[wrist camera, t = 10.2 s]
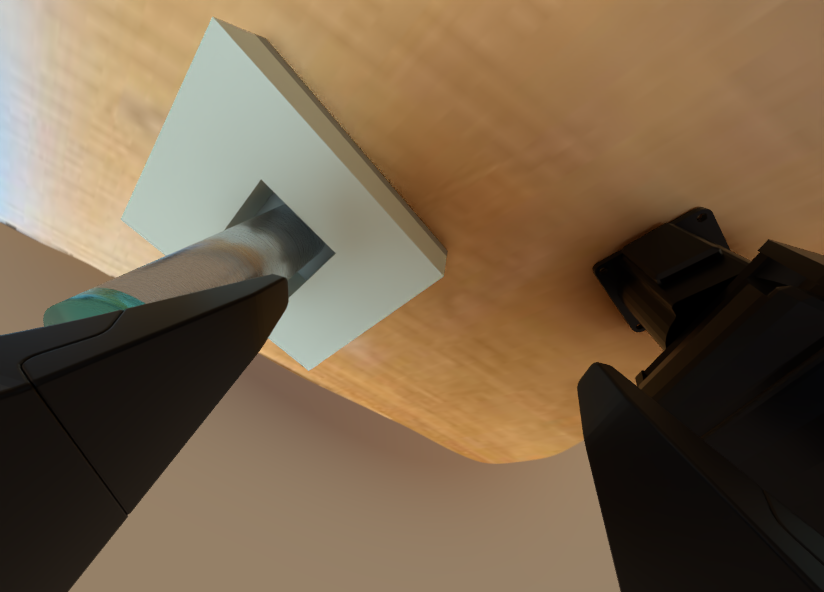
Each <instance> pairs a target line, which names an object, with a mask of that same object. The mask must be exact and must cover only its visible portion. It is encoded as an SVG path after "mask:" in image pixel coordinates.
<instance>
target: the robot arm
mask: <svg viewBox="0 0 824 592" xmlns="http://www.w3.org/2000/svg"><path fill="white" fill-rule="evenodd" d="M702 213H703V215H702V217H701V218H700V219H698V220H697V219H696V218H697V217H698V216H699V215H700V214H702ZM758 251H759V252H760V253H759V254H758V255H757V256H756V257H755V258H754V259H753V260H752V261H750V260H748V259H746V258H744V257H742V256H740V255H738V254H736V253H734V252H732V251H731V250H730V248H729V246H728V244H727V242H726V240H725V238H724V236H723V234H722V231H721V229H720V227H719V225H718V223H717V221H716V219H715V217H714V215H713V212H712V211H711V210H709V209H706V208H703V207H699V208H696V209H693V210H692V211H690V212H688V213H686V214H684V215H683V216H681V217H679V218H677V219H676V220H674V221H672V222H670V223H666V224H664V225H662V226H660V227H658V228H657V229H655V230H653V231H651V232H649V233H648V234H646V235H644V236H642V237H641V238H639V239H637V240H635V241H633V242H632V243H630V244H628V245H626V246H625V247H624V248H623V249H622V250H620V251H618V252H616V253H615V254H613V255H611V256H609V257H607V258H606V259H604V260H602V261H600V262H599V263H597V264H596V265H595V266H594V267H593V273H594V274H595V276H596V277H597V279H598V280H599V282H600V283H601V284H602V286H603V287H604V289H605V290H606V292H607V293H608V295H609V296H610V298H611V299H612V301H613V302H614V304H615V305H616V307H617V308H618V310H619V311H620V313H621V314H622V315H623V317H624V318H625V320H626V321H627V323H628V324H629V326H630V327H631V328H632V330H633V331H635V332H642V331H645V330H647V332H648V333H649V334H650V335H651V336H652V337H653V339H654V340H655V341H656V342H657V343H658V344H659V345H660V347H661V348H662V349H663V350H664V352H663V353H662V354H661V355H660V356H659V357H658V358H657V359H656V360H655V361H654V362H653V363H652V364H651V365H650V366H649V367H648V368H647V369H646V370H645V371H643V370H642V371H641V372H640V373H639V374H638V375H637V376H636V383H637V386H636V385H635V384H633V383H632V382H631V381H630V380H628V379H627V378H626V377H625V376H623V375H622V374H621V373H620V372H618V371H617V370H616V369H615V368H614V367H612V366H610V365H607V364H603V363H599V362H595V363H593V364H592V365H591V366H590V367H589V369H588V370H587V371H586V373H585V374H584V375H583V376H582V378H581V379H580V381H579V383H578V386H577V391H578V399H579V406H580V414H581V421H582V429H583V436H584V441H585V446H586V451H587V455H588V459H589V462H590V467H591V471H592V475H593V479H594V484H595V488H596V492H597V496H598V500H599V504H600V508H601V512H602V517H603V520H604V525H605V529H606V533H607V537H608V541H609V545H610V550H611V554H612V558H613V562H614V566H615V570H616V574H617V578H618V583H619V587H620V591H621V592H824V255H821V254H817V253H814V252H810V251H807V250H804V249H800V248H797V247H793V246H790V245H787V244H783V243H780V242H776V241H773V240H769V239H768V240H767V241H766V242H765V244H764V245H763V246H762V247H761V248H760V249H759V250H758ZM601 268H605V270H604V271H602V272H599V270H600V269H601ZM288 302H289V296H288V280H287V278H286V277H283V276H279V275H276V274H270V275H265V276H261V277H257V278H253V279H249V280H244V281H240V282H236V283H232V284H227V285H223V286H219V287H215V288H211V289H206V290H202V291H198V292H194V293H190V294H185V295H181V296H177V297H173V298H168V299H164V300H160V301H156V302H152V303H147V304H143V305H139V306H135V307H131V308H126V309H125V310H117V311H113V312H109V313H105V314H101V315H96V316H92V317H87V318H83V319H79V320H74V321H70V322H65V323H60V324H55V325H50V326H45V327H40V328H35V329H31V330H26V331H20V332H15V333H10V334H5V335H0V592H68V591H69V590H70V589H71V587H72V586H73V585H74V583H75V582H76V581H77V580H78V579H79V577H80V576H81V575H82V574H83V572H84V571H85V570H86V568H87V567H88V566H89V565H90V563H91V562H92V561H93V560H94V559H95V557H96V556H97V555H98V553H99V552H100V551H101V550H102V548H103V547H104V546H105V545H106V544H107V542H108V541H109V540H110V538H111V537H112V536H113V535H114V533H115V532H116V531H117V530H118V528H119V527H120V526H121V525H122V523H123V522H124V521H125V520H126V518H127V517H128V514H130V513H131V512H132V510H133V509H134V508H135V507H136V505H137V504H138V503H139V502H140V500H141V499H142V498H143V496H144V495H145V494H146V493H147V492H148V490H149V489H150V488H151V487H152V485H153V484H154V483H155V481H156V480H157V479H158V478H159V476H160V475H161V474H162V473H163V472H164V470H165V469H166V468H167V467H168V465H169V464H170V463H171V462H172V460H173V459H174V458H175V457H176V455H177V454H178V453H179V452H180V450H181V449H182V448H183V446H184V445H185V443H187V441H188V440H189V439H190V437H191V436H192V435H193V434H194V433H195V431H196V430H197V429H198V428H199V426H200V425H201V424H202V423H203V421H204V420H205V419H206V418H207V416H208V415H209V414H210V413H211V411H212V410H213V409H214V408H215V406H216V405H217V404H218V403H219V401H220V400H221V399H222V398H223V396H224V395H225V394H226V393H227V391H228V390H229V389H230V388H231V386H232V385H233V384H234V383H235V381H236V380H237V379H238V378H239V376H240V375H241V374H242V372H243V371H244V370H245V369H246V367H247V366H248V365H249V364H250V362H251V361H252V360H253V359H254V357H255V356H256V355H257V354H258V352H259V351H260V350H261V348H262V347H263V345H264V344H265V342H266V341H267V339H268V337H269V336H270V334H271V333H272V331H273V329H274V328H275V326H276V325H277V323H278V321H279V320H280V318H281V317H282V315H283V313H284V312H285V310H286V308H287V306H288ZM638 324H641V325H639V326H637V325H638Z"/></svg>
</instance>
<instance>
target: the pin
mask: <svg viewBox="0 0 824 592" xmlns="http://www.w3.org/2000/svg"><path fill="white" fill-rule="evenodd" d="M324 245H325V242H324V241H323V240H322V239H321V238H320V237H319V236H318V235H317V234H316V233H315V232H314V231H313V230H312V229H311V228H310V227H309V226H308V225H307V224H306V223H305V222H304V221H303V220H302V219H301V218H300V217H299V216H298V215H297V214H296V213H295V212H294V211H293V210H292V209H291V208H290V207H289V206H288V205H287V204H283V205H281V206H279V207H276V208H274V209H272V210H270V211H267V212H265V213H263V214H260V215H258V216H256V217H254V218H251V219H249V220H247V221H244V222H242V223H240V224H238V225H235V226H233V227H231V228H229V229H226V230H224V231H222V232H219V233H217V234H215V235H213V236H210V237H208V238H206V239H203V240H201V241H199V242H197V243H194V244H192V245H190V246H187V247H185V248H183V249H181V250H178V251H176V252H174V253H172V254H169V255H167V256H165V257H162V258H160V259H158V260H156V261H153V262H151V263H149V264H146V265H144V266H142V267H140V268H137V269H135V270H133V271H130V272H128V273H126V274H124V275H121V276H119V277H117V278H115V279H112V280H110V281H108V282H105V283H103V284H101V285H99V286H96V287H94V288H92V289H90V290H87V291H85V292H83V293H80V294H78V295H76V296H74V297H71V298H69V299H67V300H65V301H62V302H60V303H58V304H55V305H53V306H51V307H50V308H48V309H47V310H46V312H45V314H44V318H43V321H44V327H45V326H50V325H55V324H60V323H65V322H70V321H74V320H79V319H83V318H87V317H92V316H96V315H101V314H105V313H109V312H113V311H117V310H125V309H126V308H131V307H135V306H139V305H143V304H147V303H152V302H156V301H160V300H164V299H168V298H173V297H177V296H181V295H185V294H190V293H194V292H198V291H202V290H206V289H211V288H215V287H219V286H223V285H227V284H232V283H236V282H240V281H244V280H249V279H253V278H257V277H261V276H265V275H270V274H276V275H279V276H283V277H286V278H287V280H289V279H290V278H291V277H292V276H293V275H295V274H296V273H297V272H298V271H299V270H300V269H301V268H303V267H304V266H305V265H306V264H307V263H308V262H310V261H311V260H312V259H313V258H314V257H315V256H316V255H318V254H319V253H320V252H321V251H322V249H323V248H324Z"/></svg>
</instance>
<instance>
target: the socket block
mask: <svg viewBox="0 0 824 592" xmlns="http://www.w3.org/2000/svg"><path fill="white" fill-rule="evenodd" d="M283 204H287V205H288V206H289V207H290V208H291V209H292V210H293V211H294V212H295V213H296V214H297V215H298V216H299V217H300V218H301V219H302V220H303V221H304V222H305V223H306V224H307V225H308V226H309V227H310V228H311V229H312V230H313V231H314V232H315V233H316V234H317V235H318V236H319V237H320V238H321V239H322V240H323V241H324V242H325V245H324V248H323V249H322V251H321V252H320V253H319V254H318V255H316V256H315V257H314V258H313V259H312V260H311V261H310V262H308V263H307V264H306V265H305V266H304V267H303V268H301V269H300V270H299V271H298V272H297V273H296V274H295V275H293V276H292V277H291V278H290V279H289V280H288V296H289V302H288V306H287V308H286V310H285V312H284V313H283V315H282V317H281V318H280V320H279V321H278V323H277V325H276V326H275V328H274V329H273V331H272V333H271V334H270V336H269V337H268V338H269V339H270V340H271V341H272V342H274V343H275V344H276V345H277V346H279V347H280V348H281V349H282V350H284V351H285V352H286V353H287V354H288V355H290V356H291V357H292V358H293V359H295V360H296V361H297V362H298V363H300V364H301V365H302V366H303V367H305V368H306V369H307V370H308V371H309V370H311V369H312V368H314V367H315V366H317V365H318V364H319V363H321V362H322V361H324V360H325V359H327V358H328V357H329V356H331V355H332V354H334V353H335V352H337V351H338V350H339V349H341V348H342V347H344V346H345V345H347V344H348V343H349V342H351V341H352V340H354V339H355V338H357V337H358V336H359V335H361V334H362V333H364V332H365V331H367V330H368V329H369V328H371V327H372V326H374V325H375V324H377V323H378V322H379V321H381V320H382V319H384V318H385V317H387V316H388V315H389V314H391V313H392V312H394V311H395V310H397V309H398V308H399V307H401V306H402V305H404V304H405V303H407V302H408V301H409V300H411V299H412V298H414V297H415V296H417V295H418V294H419V293H421V292H422V291H424V290H425V289H427V288H428V287H429V286H431V285H432V284H434V283H435V282H437V281H438V280H439V279H441V278H442V277H444V272H445V265H446V258H447V250H446V249H445V248H444V246H443V245H442V244H441V243H440V242H439V241H438V239H437V238H436V237H435V236H434V235H433V234H432V232H431V231H430V230H429V229H428V228H427V227H426V225H425V224H424V223H423V222H422V221H421V220H420V218H419V217H418V216H417V215H416V214H415V212H414V211H413V210H412V209H411V208H410V207H409V205H408V204H407V203H406V202H405V201H404V200H403V198H402V197H401V196H400V195H399V194H398V193H397V191H396V190H395V189H394V188H393V187H392V186H391V184H390V183H389V182H388V181H387V180H386V179H385V177H384V176H383V175H382V174H381V173H380V172H379V170H378V169H377V168H376V167H375V166H374V165H373V163H372V162H371V161H370V160H369V159H368V158H367V156H366V155H365V154H364V153H363V152H362V151H361V149H360V148H359V147H358V146H357V145H356V143H355V142H354V141H353V140H352V139H351V138H350V136H349V135H348V134H347V133H346V132H345V131H344V129H343V128H342V127H341V126H340V125H339V124H338V122H337V121H336V120H335V119H334V118H333V117H332V115H331V114H330V113H329V112H328V111H327V110H326V108H325V107H324V106H323V105H322V104H321V103H320V101H319V100H318V99H317V98H316V97H315V96H314V94H313V93H312V92H311V91H310V90H309V89H308V87H307V86H306V85H305V84H304V83H303V82H302V80H301V79H300V78H299V77H298V76H297V74H296V73H295V72H294V71H293V70H292V69H291V67H290V66H289V65H288V64H287V63H286V62H285V60H284V59H283V58H282V57H281V56H280V55H279V53H278V52H277V51H276V50H275V49H274V48H273V46H272V45H271V44H270V43H269V42H268V41H267V39H266V38H263V37H261V36H258V35H256V34H253V33H251V32H249V31H246V30H244V29H241V28H239V27H236V26H234V25H232V24H229V23H227V22H224V21H222V20H219V19H217V18H214V17H212V19H211V21H210V23H209V26H208V28H207V30H206V32H205V34H204V37H203V39H202V41H201V43H200V45H199V48H198V50H197V52H196V54H195V57H194V59H193V61H192V63H191V65H190V68H189V70H188V72H187V74H186V76H185V79H184V81H183V83H182V85H181V87H180V90H179V92H178V94H177V96H176V98H175V101H174V103H173V105H172V107H171V109H170V112H169V114H168V116H167V118H166V121H165V123H164V125H163V127H162V129H161V132H160V134H159V136H158V138H157V140H156V143H155V145H154V147H153V149H152V151H151V154H150V156H149V158H148V160H147V162H146V165H145V167H144V169H143V171H142V174H141V176H140V178H139V180H138V182H137V185H136V187H135V189H134V191H133V193H132V196H131V198H130V200H129V202H128V204H127V207H126V209H125V211H124V213H123V215H122V218H121V220H122V221H123V222H125V223H126V224H127V225H128V226H129V227H131V228H132V229H133V230H134V231H136V232H137V233H138V234H139V235H141V236H142V237H143V238H144V239H146V240H147V241H148V242H149V243H151V244H152V245H153V246H154V247H156V248H157V249H158V250H159V251H161V252H162V253H163V254H164V255H166V256H167V255H169V254H172V253H174V252H176V251H178V250H181V249H183V248H185V247H187V246H190V245H192V244H194V243H197V242H199V241H201V240H203V239H206V238H208V237H210V236H213V235H215V234H217V233H219V232H222V231H224V230H226V229H229V228H231V227H233V226H235V225H238V224H240V223H242V222H244V221H247V220H249V219H251V218H254V217H256V216H258V215H260V214H263V213H265V212H267V211H270V210H272V209H274V208H276V207H279V206H281V205H283Z"/></svg>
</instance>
